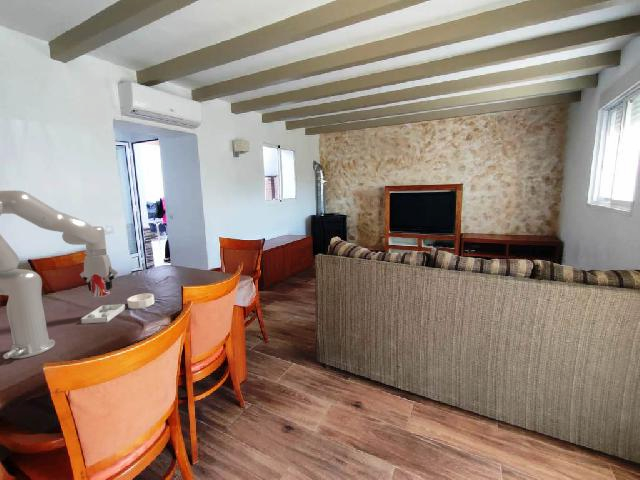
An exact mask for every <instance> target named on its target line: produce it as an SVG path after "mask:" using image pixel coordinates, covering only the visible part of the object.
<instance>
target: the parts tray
mask: <svg viewBox="0 0 640 480" xmlns="http://www.w3.org/2000/svg"><path fill="white" fill-rule="evenodd" d="M105 305H106V304H105ZM105 305H100V306H99V307H98V308H96V309H94V310H93V311H91V312H89V313H88V314H86V315H84V316H83V317H81V318H80V323H81V325H82V324H85V325H86V324H95V323H96V324H98V323H99V324H100V323H109V322H110V321H111V320H112V319H114V318H115V317H116V316H118V315H119V314H120V313H122V312H123V311H124V310H126V304H125V303H124V304H107V305H108V306H109V307H110V309H109V310H108V311H103V306H105ZM105 312H107V313H109V314H110V315H108V316H107V317H101V316H102V314H103V313H105ZM90 314H94V315H95V318H87V316H88V315H90Z"/></svg>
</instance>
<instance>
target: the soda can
mask: <svg viewBox="0 0 640 480" xmlns="http://www.w3.org/2000/svg"><path fill="white" fill-rule="evenodd" d="M90 282H91V291H90V292H91V296H92V297H94V298H104V297H107V296H108V295H110V294H111V293H110V290H111V289H109V290H107V289H106V282H107V280H106V279H105V277H100V276H99V275H97V274H94V275H92V276H91V278H90Z"/></svg>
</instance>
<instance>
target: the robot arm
mask: <svg viewBox="0 0 640 480" xmlns="http://www.w3.org/2000/svg"><path fill="white" fill-rule="evenodd" d="M4 214H5V215H7V214H10V215H11V214H13V215H16V216H18V217H19V218H22V219H23V220H25V221H27V222H29V223H30V224H33V225H35V226H37V227H39V228H41V229H44V230H48V231H50V232H51V231H52V232H59V233H62V235H61V237H62V240H63V242H65V243H67V244H68V245H74V246H81V245H82V246H85V250H84V251H83V254H85V255H86V256H85V257H84V261H83V271H81V273H79V276H80V277H81V278H82V279H83V280H84V281H85V282H86V283H87V287H88V291H89V292H92V291H91V282H90V278H91V276H92V275H94V274H97V275H99V276H100V277H105V279H106V280H107V282H106V289H107V290H109V289H110V290H111V289H112V288H113V280H114V279H115V277H116V276H117V275H118V274H119V273H118V271H117V270H115V269H113V268H112V263H111V260H110V256H109V255H108V254H107V253H108V252H107V244H106V233H105V229H104V227H102V226H92V224H90V223H88V222H86V221H84V220H83V219H80V218H77V217H75V216H72V215H69V214H66V213H65V212H61V211H59V210H57V209H55V208H53V207H51V206H50V205H48V204H46V203H45V202H44V201H41V200H40V199H38V198H36V197H35V196H33V195H32V194H31V193H29V192H25V191H24V190H0V216H1V215H4ZM19 264H20V258H19V256H18V254H17V252H15V250H14V249H13V248H12V247H11V246H10V244H9V242H8V241H6V239H5V238H4V237H3V235H2V234H1V233H0V295H1V296H2V295H3V296H8V300H7V303H6V313H7V319H8V323H9V327H10V332H11V338H12V343H13V344H12V345H11V349H10V350H9V351H8V352H6V353H4V354H3V355H2V358H3V359H5V360H7V359H9V358H11V359H25V358H30V357H33V356H36V355H40V354H43V353H45V352H47V351H48V350H51V349H52V348H54V346H55V345H56V341H55V340H54V339H52V338H49V333H48V328H47V327H48V326H47V321H46V317H45V311H44V306H43V300H42V299H43V298H42V289H43V288H42V287H43V281H42V277H41V275H39V274H38V273H37V272H36V271H34V270H30V269H26V268H25V269H24V268H20V269H19V268H18V269H17V267H18V266H19Z"/></svg>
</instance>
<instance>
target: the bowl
mask: <svg viewBox="0 0 640 480" xmlns="http://www.w3.org/2000/svg"><path fill="white" fill-rule="evenodd" d="M126 300H127V301H126V302H127V306H128V307H127V308H128V309H133V310H136V309H143V308H146V307H150V306H152V305H153V304H154V303H155V295H154V293H149V292H148V293H140V294H136V295H132V296H129V297H128V298H127V299H126Z"/></svg>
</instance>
